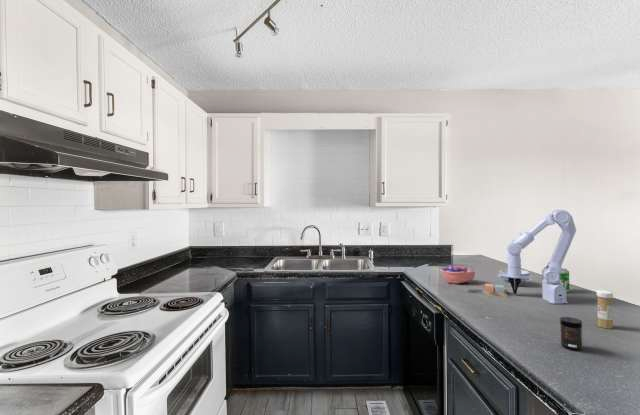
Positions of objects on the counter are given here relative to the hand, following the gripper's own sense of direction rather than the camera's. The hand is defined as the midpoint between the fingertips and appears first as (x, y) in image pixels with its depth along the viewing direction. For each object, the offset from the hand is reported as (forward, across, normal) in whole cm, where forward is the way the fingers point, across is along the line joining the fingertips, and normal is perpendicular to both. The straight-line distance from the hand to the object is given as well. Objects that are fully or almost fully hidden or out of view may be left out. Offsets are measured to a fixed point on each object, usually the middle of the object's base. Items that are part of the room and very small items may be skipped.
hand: (514, 293), depth 160 cm
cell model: (+2, +29, -17) cm, 34 cm away
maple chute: (+2, +13, 0) cm, 13 cm away
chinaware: (+2, 0, -27) cm, 27 cm away
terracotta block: (+1, +11, 0) cm, 11 cm away
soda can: (+2, -21, -20) cm, 29 cm away
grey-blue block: (+1, +7, 0) cm, 7 cm away
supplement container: (+2, -14, +57) cm, 59 cm away
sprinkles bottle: (+2, -28, +31) cm, 42 cm away
